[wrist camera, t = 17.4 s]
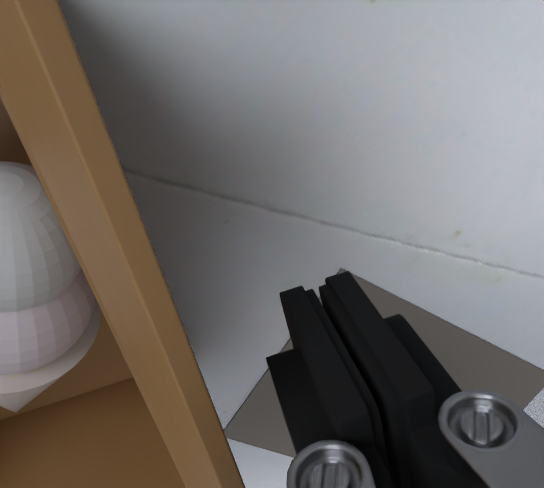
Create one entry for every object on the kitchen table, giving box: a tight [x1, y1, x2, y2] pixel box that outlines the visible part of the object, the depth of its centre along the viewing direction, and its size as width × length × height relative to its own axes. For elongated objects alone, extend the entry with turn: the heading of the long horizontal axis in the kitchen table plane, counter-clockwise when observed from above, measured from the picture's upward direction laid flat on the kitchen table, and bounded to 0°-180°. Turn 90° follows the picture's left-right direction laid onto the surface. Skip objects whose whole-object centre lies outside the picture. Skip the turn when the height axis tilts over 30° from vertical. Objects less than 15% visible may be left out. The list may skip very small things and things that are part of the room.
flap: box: [0, 0, 245, 488], centre depth 11 cm, size 18×6×1 cm
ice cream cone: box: [0, 161, 101, 412], centre depth 19 cm, size 6×6×15 cm
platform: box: [224, 269, 544, 458], centre depth 28 cm, size 12×18×7 cm, turn 57°
